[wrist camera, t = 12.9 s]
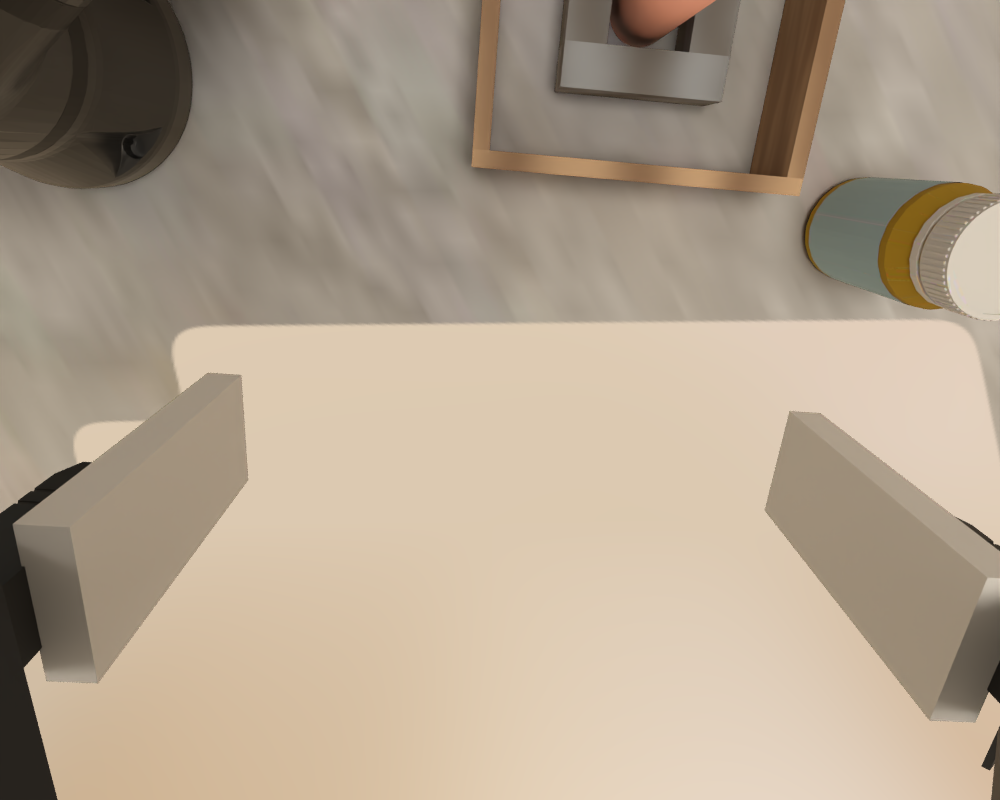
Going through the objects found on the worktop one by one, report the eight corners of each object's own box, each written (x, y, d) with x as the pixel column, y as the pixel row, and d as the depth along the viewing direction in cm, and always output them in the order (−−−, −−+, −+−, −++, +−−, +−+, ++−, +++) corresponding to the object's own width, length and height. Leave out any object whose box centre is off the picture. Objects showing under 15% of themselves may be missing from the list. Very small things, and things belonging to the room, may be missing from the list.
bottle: (822, 167, 45) (977, 172, 31) (916, 189, 45) (1109, 204, 31) (786, 267, 47) (914, 314, 33) (875, 286, 48) (1038, 341, 34)
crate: (473, 165, 44) (471, 166, 38) (497, -205, 37) (499, -269, 31) (760, 191, 45) (799, 195, 39) (836, -165, 38) (897, -221, 32)
